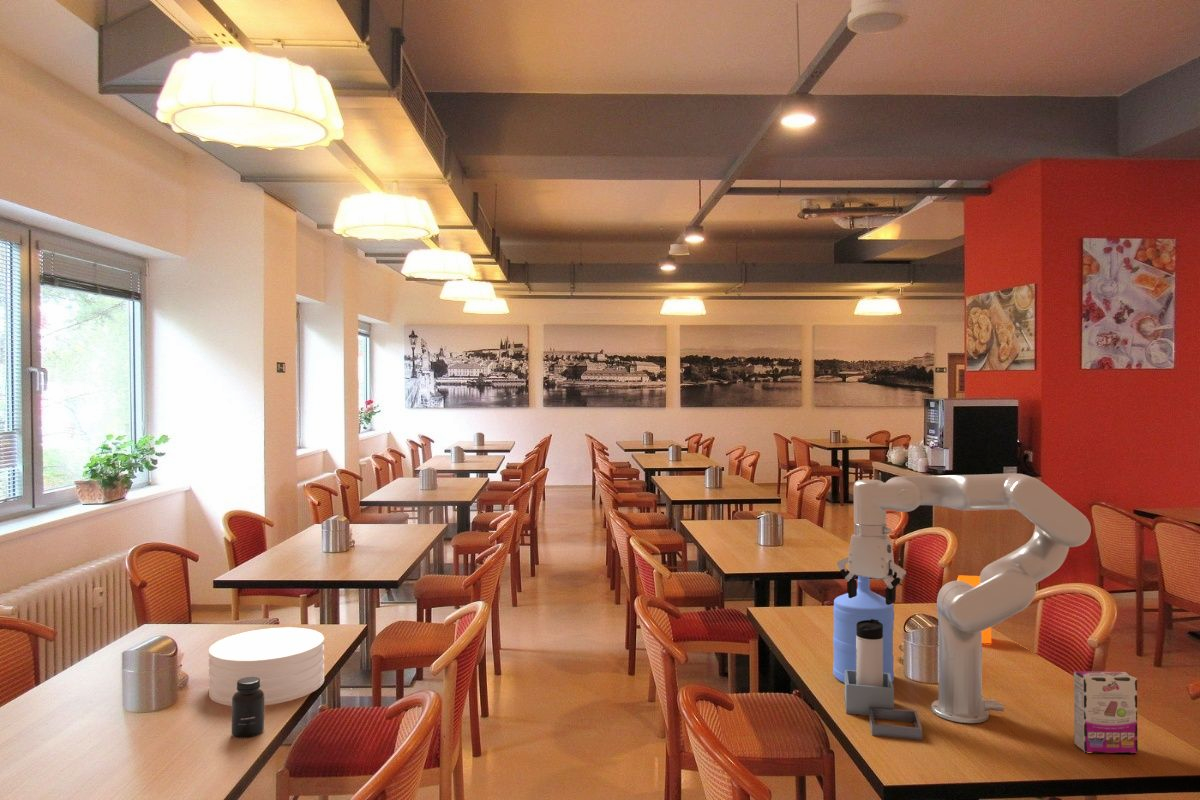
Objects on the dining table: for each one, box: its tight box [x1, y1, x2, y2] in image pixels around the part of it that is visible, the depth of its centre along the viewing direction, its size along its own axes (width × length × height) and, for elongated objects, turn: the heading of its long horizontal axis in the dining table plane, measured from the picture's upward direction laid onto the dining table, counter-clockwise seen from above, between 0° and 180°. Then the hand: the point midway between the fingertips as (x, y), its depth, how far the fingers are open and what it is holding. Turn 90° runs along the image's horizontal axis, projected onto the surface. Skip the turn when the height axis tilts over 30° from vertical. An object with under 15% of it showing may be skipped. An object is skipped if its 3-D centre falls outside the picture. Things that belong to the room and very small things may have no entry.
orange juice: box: [956, 574, 992, 644], centre depth 253 cm, size 8×9×20 cm
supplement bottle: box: [231, 677, 265, 739], centre depth 184 cm, size 7×7×12 cm
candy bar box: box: [1073, 670, 1139, 753], centre depth 176 cm, size 11×5×16 cm, turn 87°
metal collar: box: [868, 707, 923, 741], centre depth 187 cm, size 11×11×2 cm
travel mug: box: [856, 619, 883, 687], centre depth 199 cm, size 6×7×20 cm
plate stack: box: [208, 627, 325, 707], centre depth 214 cm, size 28×28×12 cm
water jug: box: [832, 576, 895, 684], centre depth 219 cm, size 16×16×28 cm
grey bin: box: [844, 670, 895, 717], centre depth 199 cm, size 11×11×7 cm
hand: (870, 600), depth 199 cm, fingers open, 9 cm apart
